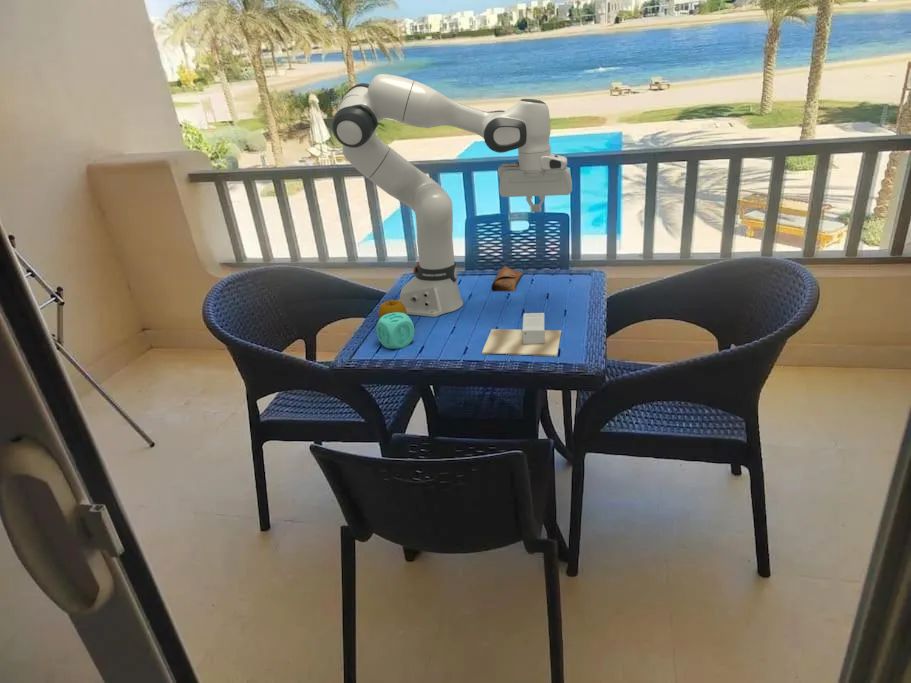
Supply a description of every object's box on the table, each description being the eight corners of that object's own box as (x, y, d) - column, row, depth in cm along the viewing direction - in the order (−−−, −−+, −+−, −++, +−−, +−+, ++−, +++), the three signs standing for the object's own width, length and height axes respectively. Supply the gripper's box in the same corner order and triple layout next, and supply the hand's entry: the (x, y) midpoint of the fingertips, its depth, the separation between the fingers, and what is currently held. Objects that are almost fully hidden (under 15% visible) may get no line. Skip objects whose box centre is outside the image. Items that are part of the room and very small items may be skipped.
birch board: (482, 354, 165) (481, 352, 165) (491, 330, 178) (491, 329, 178) (557, 356, 160) (557, 354, 160) (561, 332, 173) (561, 330, 173)
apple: (388, 321, 191) (385, 295, 187) (413, 323, 188) (410, 296, 184) (375, 332, 184) (371, 305, 180) (401, 335, 181) (397, 307, 177)
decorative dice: (400, 334, 181) (397, 309, 178) (416, 342, 175) (413, 316, 172) (377, 343, 177) (374, 318, 173) (393, 351, 171) (390, 325, 168)
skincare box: (523, 326, 178) (522, 344, 167) (523, 312, 176) (521, 330, 165) (545, 326, 177) (544, 344, 166) (544, 312, 175) (544, 329, 164)
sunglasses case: (516, 291, 205) (505, 275, 203) (499, 301, 208) (488, 285, 206) (524, 273, 220) (514, 258, 219) (508, 282, 223) (498, 267, 222)
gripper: (495, 165, 168) (498, 215, 174) (571, 161, 163) (571, 213, 169) (499, 161, 174) (501, 209, 180) (572, 157, 169) (572, 207, 175)
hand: (536, 211), depth 174 cm, fingers closed
